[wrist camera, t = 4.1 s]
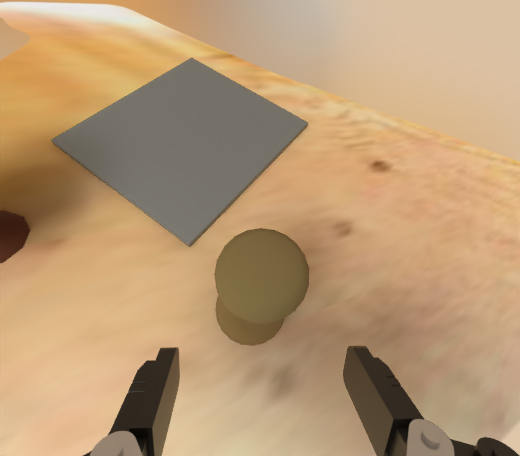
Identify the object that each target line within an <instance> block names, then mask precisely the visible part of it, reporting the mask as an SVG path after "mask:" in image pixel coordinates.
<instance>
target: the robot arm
mask: <svg viewBox="0 0 520 456" xmlns="http://www.w3.org/2000/svg"><path fill="white" fill-rule="evenodd" d="M179 377H180V371H179V349H178V348H161V349H160V351H159V353H158V356H157V358H156V361H146V362H145V363H144V364H143V365H142V366H141V367H140V368H139V370H138V371H137V373H136V375H135V377H134V380H133V383H132V384H131V386H130V389H129V391H128V393H127V395H126V397H125V400H124V402H123V404H122V406H121V408H120V411H119V413H118V415H117V417H116V420H115V422H114V424H113V426H112V428H111V431H110V432H109V434H108V436H106V437H105V438H103V439H102V440H101V441H100V442H99V443H98V444H97V445H96V446H95V447H94V449H93V450H92V451H91V452H89V453H87V454H86V455H83V456H161V455H162V451H163V447H164V443H165V439H166V435H167V431H168V427H169V423H170V419H171V415H172V411H173V407H174V403H175V399H176V395H177V391H178V386H179ZM343 377H344V383H345V386H346V388H347V390H348V392H349V395H350V397H351V399H352V401H353V404H354V406H355V408H356V410H357V412H358V415H359V417H360V419H361V421H362V423H363V426H364V428H365V430H366V432H367V435H368V437H369V439H370V441H371V443H372V446H373V448H374V450H375V452H376V454H377V456H519V455H518V454H517V453H516V452H515V451H514V450H512V449H511V448H510V447H508V446H507V445H505V444H504V443H502V442H500V441H498V440H495V439H492V438H488V437H483V438H480V439H479V440H478V442H477V444H476V446H473V445H469V444H466V443H462V442H459V441H455V440H452V439H449V437H448V436H447V435H446V434H445V432H443V431H442V430H441V429H440V428H439V427H438V426H436V425H435V424H433V423H431V422H429V421H426V420H425V419H424V418H423V417H422V415H421V414H420V412H419V411H418V409H417V408H416V406H415V405H414V404H413V402H412V401H411V399H410V398H409V396H408V395H407V393H406V392H405V390H404V389H403V388H402V387H401V385H400V383H399V382H398V380H397V379H396V378H395V376H394V374H393V373H392V372H391V370H390V369H389V367H388V366H387V365H386V364H385V363H384V362H382V361H381V360H380V359H379V358H373V356H372V355H371V353H370V352H369V350H368V349H367V347H366V346H349V347H348V349H347V354H346V360H345V365H344V371H343Z"/></svg>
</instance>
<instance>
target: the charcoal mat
mask: <svg viewBox="0 0 520 456" xmlns="http://www.w3.org/2000/svg"><path fill="white" fill-rule="evenodd" d="M307 124H308V122H306V121H304V120H302V119H301V118H299V117H297V116H295V115H293V114H292V113H290V112H288V111H286V110H285V109H283V108H281V107H279V106H277V105H276V104H274V103H272V102H270V101H268V100H267V99H265V98H263V97H261V96H259V95H258V94H256V93H254V92H252V91H250V90H249V89H247V88H245V87H243V86H241V85H240V84H238V83H236V82H234V81H232V80H231V79H229V78H227V77H225V76H223V75H222V74H220V73H218V72H216V71H214V70H213V69H211V68H209V67H207V66H206V65H204V64H202V63H200V62H198V61H197V60H195V59H193V58H190V59H189V60H187V61H185V62H184V63H182V64H180V65H178V66H177V67H175V68H173V69H172V70H170V71H168V72H166V73H165V74H163V75H161V76H160V77H158V78H156V79H154V80H153V81H151V82H149V83H148V84H146V85H144V86H142V87H141V88H139V89H137V90H136V91H134V92H132V93H130V94H129V95H127V96H125V97H124V98H122V99H120V100H118V101H117V102H115V103H113V104H112V105H110V106H108V107H106V108H105V109H103V110H101V111H100V112H98V113H96V114H94V115H93V116H91V117H89V118H88V119H86V120H84V121H82V122H81V123H79V124H77V125H76V126H74V127H72V128H70V129H69V130H67V131H65V132H64V133H62V134H60V135H58V136H57V137H55V138H53V139H52V140H51V141H52V142H53V144H54V145H56V146H57V147H58V148H60V149H61V150H62V151H64V152H65V153H66V154H68V155H69V156H70V157H72V158H73V159H74V160H76V161H77V162H78V163H80V164H81V165H82V166H84V167H85V168H86V169H87V170H89V171H90V172H91V173H93V174H94V175H95V176H97V177H98V178H99V179H101V180H102V181H103V182H105V183H106V184H107V185H109V186H110V187H111V188H113V189H114V190H115V191H117V192H118V193H119V194H121V195H122V196H123V197H124V198H126V199H127V200H128V201H130V202H131V203H132V204H134V205H135V206H136V207H138V208H139V209H140V210H142V211H143V212H144V213H146V214H147V215H148V216H150V217H151V218H152V219H154V220H155V221H156V222H158V223H159V224H160V225H161V226H163V227H164V228H165V229H167V230H168V231H169V232H171V233H172V234H173V235H175V236H176V237H177V238H179V239H180V240H181V241H183V242H184V243H185V244H187V245H188V246H189V247H190V246H191V245H192V244H193V243H194V242H195V241H196V240H197V239H198V238H199V237H200V236H201V235H202V234H203V233H204V232H205V231H206V230H207V229H208V228H209V227H210V226H211V225H212V224H213V223H214V221H215V220H216V219H217V218H218V217H219V216H220V215H221V214H222V213H223V212H224V211H225V210H226V209H227V208H228V207H229V206H230V205H231V204H232V203H233V202H234V201H235V200H236V199H237V198H238V197H239V196H240V195H241V194H242V193H243V192H244V191H245V190H246V189H247V188H248V186H249V185H250V184H251V183H252V182H253V181H254V180H255V179H256V178H257V177H258V176H259V175H260V174H261V173H262V172H263V171H264V170H265V169H266V168H267V167H268V166H269V165H270V164H271V163H272V162H273V161H274V160H275V159H276V158H277V157H278V156H279V155H280V154H281V153H282V151H283V150H284V149H285V148H286V147H287V146H288V145H289V144H290V143H291V142H292V141H293V140H294V139H295V138H296V137H297V136H298V135H299V134H300V133H301V132H302V131H303V130H304V129H305V128H306V127H307Z"/></svg>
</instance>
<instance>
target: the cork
mask: <svg viewBox="0 0 520 456" xmlns="http://www.w3.org/2000/svg"><path fill="white" fill-rule="evenodd" d="M215 281H216V287H217V292H218V294H219V296H218V299H217V305H216V315H217V321H218V323H219V325H220V327H221V329H222V331H223V332H224V333H225V334H226V335H227V336H228V337H229V338H230V339H231V340H233V341H235V342H238V343H240V344H243V345H257V344H261V343H264V342H266V341H268V340H269V339H271V338H272V337H274V335H275V334H276V333H277V332H278V330H279V329H280V328H281V325H282V323H283V320H284V318H285V317H286V316H288V315H289V314H291V313H292V312H294V311H295V310H296V308H297V307H298V306H299V305H300V303H301V302H302V301H303V299H304V297H305V294H306V291H307V288H308V285H309V267H308V264H307V261H306V258H305V255H304V254H303V252H302V251H301V249H300V248H299V246H298V245H297V244H296V243H295V242H294V241H293V240H291V239H290V238H289V237H288V236H286V235H284V234H282V233H279V232H277V231H275V230H269V229H261V228H260V229H254V230H247V231H245V232H243V233H241V234H239V235H237V236H235V237H234V238H233V239H232V240H231V241H230V242H229V243H228V244H226V245H225V247H224V249H223V250H222V252H221V254H220V256H219V258H218V260H217V264H216V269H215Z"/></svg>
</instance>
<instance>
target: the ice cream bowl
mask: <svg viewBox="0 0 520 456" xmlns="http://www.w3.org/2000/svg"><path fill="white" fill-rule="evenodd" d="M29 231H30V230H29V228H28V225H27V223H26V221H25V219H24V217H22V216H19V215H16V214H13V213H9V212H6V211H3V210H0V263H2V262H4V261H6V260H7V259H8V258H10V257H11V256H12V255H13V254H15V253H16V252H17V251H19V250H20V249H21V248H22V247H23V245H24V243H25V240H26V238H27V236H28V233H29Z"/></svg>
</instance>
